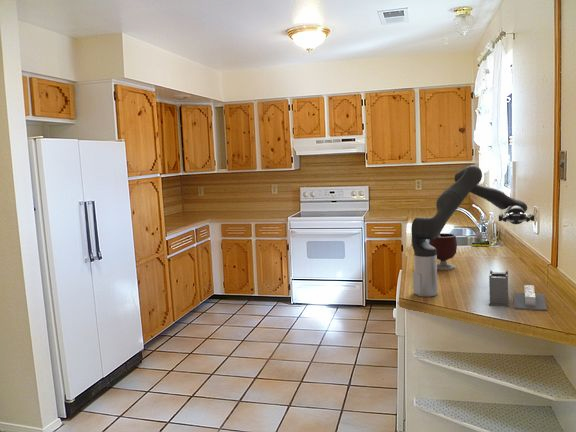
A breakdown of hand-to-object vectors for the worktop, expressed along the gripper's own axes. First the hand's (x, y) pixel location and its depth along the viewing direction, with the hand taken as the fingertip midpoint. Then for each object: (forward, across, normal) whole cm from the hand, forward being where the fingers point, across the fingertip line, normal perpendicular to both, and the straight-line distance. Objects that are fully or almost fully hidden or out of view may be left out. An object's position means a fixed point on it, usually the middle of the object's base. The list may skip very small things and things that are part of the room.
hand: (516, 219), depth 212 cm
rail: (+19, +4, +29) cm, 35 cm away
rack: (+23, -7, +30) cm, 39 cm away
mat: (+20, +4, +30) cm, 36 cm away
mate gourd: (-35, -35, +30) cm, 58 cm away
